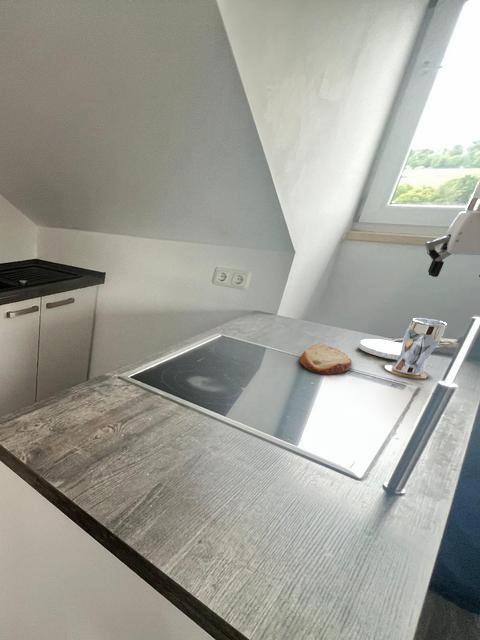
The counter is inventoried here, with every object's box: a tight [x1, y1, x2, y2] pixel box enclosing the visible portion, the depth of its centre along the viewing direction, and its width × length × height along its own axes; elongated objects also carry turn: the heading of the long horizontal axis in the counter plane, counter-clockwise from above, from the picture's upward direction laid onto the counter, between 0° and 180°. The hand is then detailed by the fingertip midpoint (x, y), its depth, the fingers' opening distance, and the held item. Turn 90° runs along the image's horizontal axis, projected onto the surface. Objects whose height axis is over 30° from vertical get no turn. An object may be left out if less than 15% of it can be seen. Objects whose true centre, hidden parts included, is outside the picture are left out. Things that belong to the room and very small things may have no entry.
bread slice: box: [299, 343, 352, 376], centre depth 118 cm, size 18×18×4 cm
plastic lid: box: [358, 338, 402, 361], centre depth 123 cm, size 14×14×2 cm
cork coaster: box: [383, 363, 429, 380], centre depth 112 cm, size 9×9×1 cm
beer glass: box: [392, 317, 448, 375], centre depth 108 cm, size 7×7×15 cm
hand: (457, 277), depth 100 cm, fingers open, 9 cm apart
